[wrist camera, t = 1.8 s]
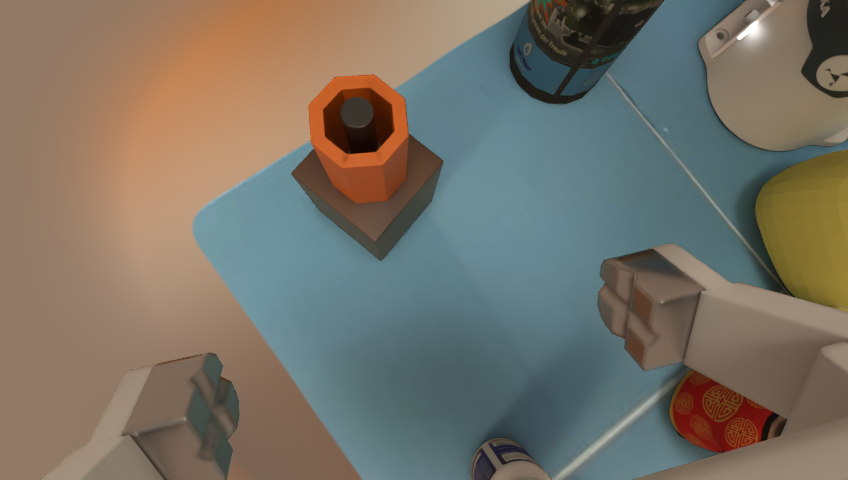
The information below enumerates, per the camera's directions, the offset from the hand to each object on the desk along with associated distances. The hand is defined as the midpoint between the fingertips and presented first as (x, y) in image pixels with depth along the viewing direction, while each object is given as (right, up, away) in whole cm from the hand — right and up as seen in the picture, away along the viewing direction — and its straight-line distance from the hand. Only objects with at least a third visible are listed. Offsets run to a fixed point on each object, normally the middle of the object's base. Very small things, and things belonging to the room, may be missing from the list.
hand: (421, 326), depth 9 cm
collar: (-4, +7, +23) cm, 24 cm away
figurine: (+27, -15, +33) cm, 46 cm away
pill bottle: (+7, -20, +32) cm, 38 cm away
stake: (-5, +5, +35) cm, 35 cm away
